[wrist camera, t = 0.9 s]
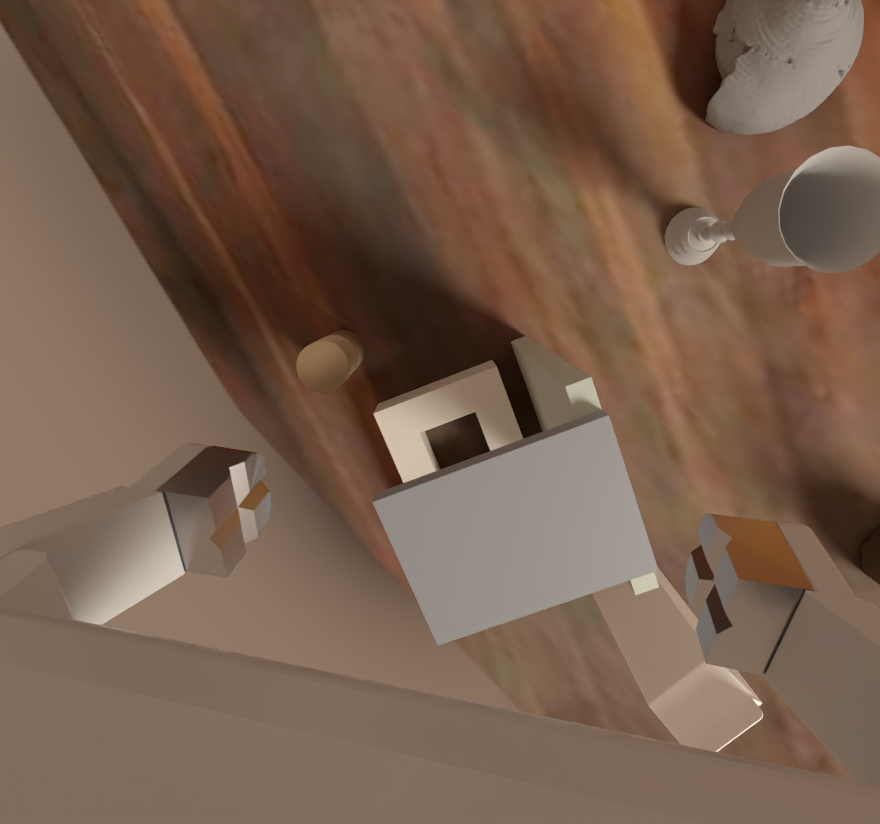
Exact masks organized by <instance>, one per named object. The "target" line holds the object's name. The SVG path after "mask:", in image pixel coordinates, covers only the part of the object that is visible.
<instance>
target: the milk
mask: <svg viewBox="0 0 880 824" xmlns="http://www.w3.org/2000/svg"><path fill="white" fill-rule="evenodd" d="M654 573H655V576H656V579H657V582H658V585H659V588H656V589H653V590H650V591H647V592H644V593H641V594H638V595H635V594H634V592H633V590H632V589H631V587H630V586H629V584H628V583H627V582H624V583H621V584H618V585H615V586H612V587H609V588H606V589H603V590H600V591H597V592H594V593H592V594H593V596H594V598H595V600H596V602H597V604H598V606H599V608H600V610H601V612H602V614H603V616H604V618H605V620H606V622H607V624H608V626H609V628H610V630H611V632H612V634H613V636H614V638H615V640H616V642H617V644H618V646H619V648H620V650H621V652H622V654H623V656H624V658H625V660H626V662H627V664H628V666H629V668H630V670H631V672H632V674H633V676H634V678H635V680H636V682H637V684H638V686H639V688H640V690H641V692H642V694H643V696H644V698H645V700H646V702H647V704H648V706H649V707H650V708H651V710H652V711H653V712H654V713H655V714H656V715H657V717H658V718H659V719H660V720H661V721H662V723H663V724H664V725H665V726H666V727H667V729H668V730H669V731H670V732H671V733H672V735H673V736H674V737H675V738H676V739H677V741H678V742H679V743H680V744H681V745H685V746H690V747H694V748H699V749H704V750H709V751H714V752H717V751H719V750H720V749H722V748H723V747H724V746H726V745H727V744H728V743H730V742H731V741H732V740H734V739H735V738H736V737H738V736H739V735H741V734H742V733H743V732H745V731H746V730H747V729H749V728H750V727H751V726H753V725H754V724H755V723H757V722H758V721H760V720H761V719H762V717H763V713H762V711H761V709H760V708H759V707H758V706H760V705H761V704H762V702H761V701H760V699H759V698H758V697H757V695H756V694H755V693H754V692H753V690H752V689H751V688H750V686H749V685H748V684H747V683H746V681H745V680H744V679H743V677H742V676H741V675H740V673H739V672H738V671H737V670H734V669H729V668H724V667H719V666H714V665H710V664H706V663H705V659H704V656H703V652H702V649H701V645H700V642H699V639H698V635H697V632H696V627H697V624H698V621H699V620H698V619H697V618H696V616H695V615H694V614H693V613H692V611H691V610H690V609H689V607H688V606H687V605H686V603H685V602H684V601H683V600H682V598H681V597H680V596H679V594H678V593H677V592H676V591H675V589H674V588H673V587H672V585H671V584H670V583H669V581H668V580H667V579H666V578H665V576H664V575H663V574H662V572H661V571H660V570H659V568H658V571H656V572H654Z"/></svg>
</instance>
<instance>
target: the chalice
mask: <svg viewBox="0 0 880 824" xmlns="http://www.w3.org/2000/svg"><path fill="white" fill-rule="evenodd" d="M727 239H728V240H736V241H737V242H738V243H739V245H740V246H741V247H742V248H743V249H744V251H745V252H747V253H749V254H750V255H752V256H754V257H755V258H757V259H759V260H760V261H762V262H764V263H766V264H770V265H774V266H803V265H806V266H807V267H809V268H810V269H813V270H817V271H822V272H826V273H835V272H845V271H849V270H852V269H854V268H856V267H859V266H861V265H863V264H865V263H867V262H868V261H869V260H871V259H872V258H873V257H874V256H875V255H876V254H878V253H879V252H880V158H879V157H878V156H876V155H875V154H873V153H872V152H870V151H868V150H866V149H861V148H857V147H853V146H842V147H834V148H828V149H826V150H824V151H822V152H820V153H818V154H815V155H813V156H811V157H810V158H809V159H808V160H806V161H805V162H804V163H803V164H802V165H801V166H800V167H799V168H796V169H792V170H789V171H786V172H783V173H780V174H777V175H775V176H772V177H770V178H768V179H766V180H764V181H762V182H761V183H760V184H759V185H758V186H757V187H756V188H755V189H754V190H753V191H752V192H751V193H750V194H749V195H748V196H747V197H746V198H745V199H744V200H743V202H742V203H741V205H740V207H739V208H738V210H737V212H736V214H735V217H734V219H730V220H728V221H727V222H725V221H719V220H718V219H717V218H716V217H715V216H714V215H712V213H710V212H709V211H707V210H705V209H702V208H697V207H694V208H688V209H685V210H683V211H681V212H679V213H678V214H677V215H676V216H675V217H673V218H672V219H671V221H670V223H669V225H668V226H667V229H666V233H665V247H666V249H667V252H668V254H669V255H670V256H671V257H672V259H673V260H675V261H676V262H678V263H680V264H684V265H695V264H699V263H701V262H703V261H705V260H706V259H707V258H708V257H710V256H711V255H712V254H713V252H714V251H715V250H716V248H717V247H718V246H719V244H720V243H722V242H725V241H726V240H727Z"/></svg>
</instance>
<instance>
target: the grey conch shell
mask: <svg viewBox="0 0 880 824" xmlns="http://www.w3.org/2000/svg"><path fill="white" fill-rule="evenodd" d="M863 26H864V10H863V6H862V2H861V0H727V1H726V3H725V5H724V8H723V10H722V11H721V12H720V13H719V14H718V16H717V20H716V23H715V27H714V28H713V33H714V34H715V35H717V38H716V47H715V54H716V62H717V65H718V70H719V72H720V75H721V78H722V79H723V80H722V82H721V87H720V88H719V90H718V91H717V92H716V93H715V94H714V96H713V97H712V98H711V100H710V101H709V103H708V107H707V115H706V119H705V120H706V122H707V123H709V124H710V125H711V126H713V127H714V128H715V129H717V130H720V131H723V132H725V133H730V134H737V135H753V134H761V133H769V132H773V131H776V130H778V129H781V128H783V127H785V126H787V125H789V124H791V123H793V122H794V121H796V120H798V119H800V118H802V117H804V116H806V115H807V114H808V113H810V112H811V111H813V110H814V109H815V108H816V107H818V106H819V105H820V104H821V103H822V102H823V101H824V100H825V99H826V98H827V97H828V96H829V95H830V94H831V93H832V92H833V91H834V89H835V88H836V87H837V86H838V85H839V83H840V82H841V81H842V80H843V78H844V77H845V75H846V74H847V72H848V71H849V70H850V68H851V66H852V64H853V62H854V60H855V58H856V56H857V54H858V52H859V48H860V45H861V41H862V36H863Z"/></svg>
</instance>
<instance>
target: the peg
mask: <svg viewBox="0 0 880 824" xmlns="http://www.w3.org/2000/svg"><path fill="white" fill-rule="evenodd" d="M364 356H365V347H364V344H363V342H362V340H361V339H360V337H359V336H358V335H356V334H355V333H353V332H351V331H348V330H339V331H336V332H333V333H331V334H329V335H327V336H326V337H324V338H322V339H320V340H318V341H316V342H314V343H312V344H310V345H308V346H306V347H305V348H304V349H303V350H302V351H301V352H300V354H299V356H298V359H297V363H296V369H297V374H298V376H299V378H300V380H301V382H302V383H303V384H304V385H305V386H306V387H307V388H309V389H311V390H313V391H315V392H319V393H327V392H331V391H334V390H336V389H338V388H339V387H340V386H341V385H342V384H343V383H344V382H345V381H346V380H347V378H348V377H349V376H350V375H351V374H352V373H353V372H354V371H355V370H356V369H357V368H358V366H359V365H360V364H361V363H362V361H363V359H364Z"/></svg>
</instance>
